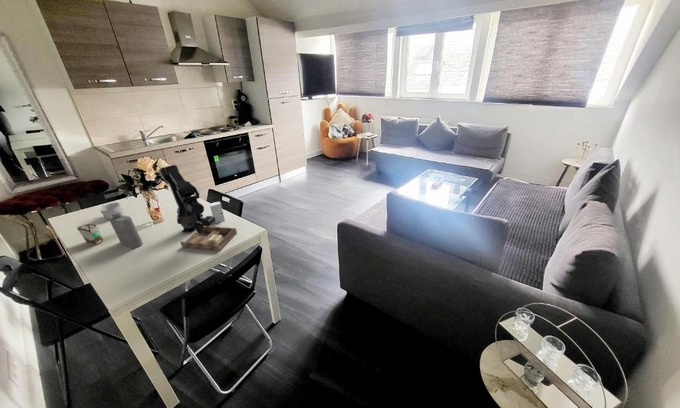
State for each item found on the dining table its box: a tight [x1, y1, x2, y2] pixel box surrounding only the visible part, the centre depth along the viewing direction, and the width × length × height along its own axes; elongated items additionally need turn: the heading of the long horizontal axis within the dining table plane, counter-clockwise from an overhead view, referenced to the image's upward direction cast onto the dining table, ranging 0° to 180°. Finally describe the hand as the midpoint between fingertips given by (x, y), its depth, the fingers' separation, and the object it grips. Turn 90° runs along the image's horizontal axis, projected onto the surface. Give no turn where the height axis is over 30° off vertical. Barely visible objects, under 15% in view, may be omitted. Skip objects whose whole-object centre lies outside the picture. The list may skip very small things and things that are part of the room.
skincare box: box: [209, 201, 226, 224], centre depth 165 cm, size 6×4×12 cm
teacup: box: [99, 201, 124, 219], centre depth 176 cm, size 14×11×8 cm
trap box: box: [180, 225, 238, 252], centre depth 148 cm, size 23×17×4 cm
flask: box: [107, 212, 144, 249], centre depth 144 cm, size 15×6×20 cm, turn 66°
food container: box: [76, 223, 104, 246], centre depth 150 cm, size 12×6×10 cm, turn 71°
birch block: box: [208, 235, 223, 245], centre depth 143 cm, size 5×5×3 cm
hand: (200, 233), depth 142 cm, fingers closed
